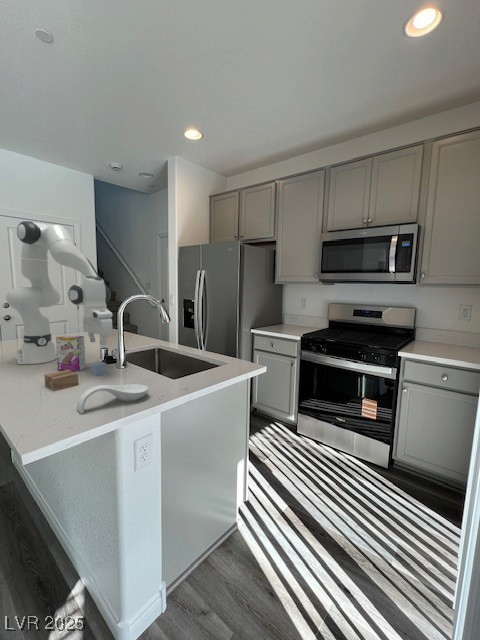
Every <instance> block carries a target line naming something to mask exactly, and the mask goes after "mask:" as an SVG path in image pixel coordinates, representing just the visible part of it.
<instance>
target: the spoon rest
mask: <svg viewBox="0 0 480 640" xmlns="http://www.w3.org/2000/svg"><path fill="white" fill-rule="evenodd" d="M100 391H102V392H103V391H104V392H107V393H110V394H111V395H112V396H114V397H116V398H117V399H119V400H120V401H122V402H128V403H129V402H135V401H137V400H140V399H142V398H143V397H144V396H145V395H146V394H148V392H149V386H147V385H145V384H138V383H137V384H135V383H131V384H129V383H128V384H127V383H126V384H119V385H118V384H117V385H116V384H115V385H113V384H111V385H110V384H100V385H99V384H98V385H96V386H93V387H90V388H88V389H87V390H86V391H84V392H83V393H82V394H81V396H79V398H78V401H77V403H76V411H77V412H78V413H80V414H81V415H82V414H85V406H86V402H87V400H88V399H89V398H90V397H91V395H94V394H95V393H97V392H100Z"/></svg>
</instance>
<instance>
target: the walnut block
mask: <svg viewBox="0 0 480 640" xmlns="http://www.w3.org/2000/svg"><path fill="white" fill-rule="evenodd" d="M43 376H44V386H45V387H46V388H48V389H50V390H51V391H53V392H56V391H60V390H64V389H67V388H71V387H77V386H79V373H77V372H76V371H70V370H64V371H63V370H58V371H54V372H51V373H50V372H49V373H45V374H44V375H43Z"/></svg>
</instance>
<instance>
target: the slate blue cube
mask: <svg viewBox="0 0 480 640" xmlns="http://www.w3.org/2000/svg"><path fill="white" fill-rule="evenodd" d="M89 366H90V367H89V368H90V375H92V376H94V377H99V376H103V375H106V374H107V373H108V371H107V368H108V367H107V363H106V362H103V361H96V362H93V363H89ZM107 375H108V374H107Z"/></svg>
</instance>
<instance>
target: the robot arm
mask: <svg viewBox="0 0 480 640" xmlns="http://www.w3.org/2000/svg"><path fill="white" fill-rule="evenodd" d="M16 235H17V237H18V240H19V241H21V243H22V247H21V253H20V256H21V258H20V261H21V264H20V266H21V268H20V270H21V275H22V276H23V277H24V278H25V279H27V280H29V283H30V284H31V286H20V287H14V288H11V289H10V290H8V292H7V293H6V296H5V297H6V298H5V300H6V303H7V304H8V305H9V306H10V307H11V308H12V309H14V310H15V311H17V313H18V314H19V315H20V317H21V320H22V323H23V331H24V335H23V340H22V341H23V344H22V346H21V347H20V348H19V349H17V350H16V351H17V352H16V353H17V355H19V356H16V357H15V360H16V363H17V365H36V364H44V363H49V362H53V361H55V360H58V359H57V349H56V343H55V342H53V341H52V333H51V329H50V320H49V318H48V317H47V316H45V315H43V314H42V313H41V310H40V309H42V308H43V309H45V308H50V307H53V306H56V305H59V302H60V301H61V294H60V292H59V291H58V290H57V289H56V288H55V287H54V286H53V284H52V283H51V280H50V277H49V266H48V264H49V262H48V261H49V260H48V259H49V258H48V251H49V254H50V256H51V257H52V259H53V260H54V261H55V262H56V263H58V264H59V265H61V266H65V267H68V268H71V269H74V270H76V271H78V272H80V273H81V274H82V275H83V276H84V277H83V279H82V281H80V282H78V283H76V284H73V285H71V286H70V287H69V290H68V293H67V294H68V299H69V301H70V302H71V303H72V304H74V305H76V306H84V316H83V317H82V318H83V319H82V323H83V324H82V330H83V331H84V332H85V333H87V334H88V337H89V342H90V343H96V338H95V335H99V336H100V341H99V342H100V345H103V346H105V345H107V339H108V336H111V335H112V334H113V319H112V318H113V312H111V311H110V310H109V309H108V308H107V306H108V305H107V303H108V302H109V301H110V299H111V295H112V294H111V290H110V288H109V286H107V285H106V284H105V281H104V279H103V278H102V277H100V275H99V273H98V272H97V270H96V268H95V267H94V266H93V264H92V263H91V261H90V260H89V259H88V258H87V257H86V256H85V255H84V254H83V253H82V252H81V251H80V250H79V249H78V247H77V246H76V244H75V242H74V240H73V238H72V236H71V235H70V233H69V232H68V230H67V229H66V228H65V227H64V226H63V225H61V224H49V223H43V222H42V223H41V222H34V221H30V220H28V221H24V220H23V221H21V222H20V223H19V224H18V225H17V228H16Z"/></svg>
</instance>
